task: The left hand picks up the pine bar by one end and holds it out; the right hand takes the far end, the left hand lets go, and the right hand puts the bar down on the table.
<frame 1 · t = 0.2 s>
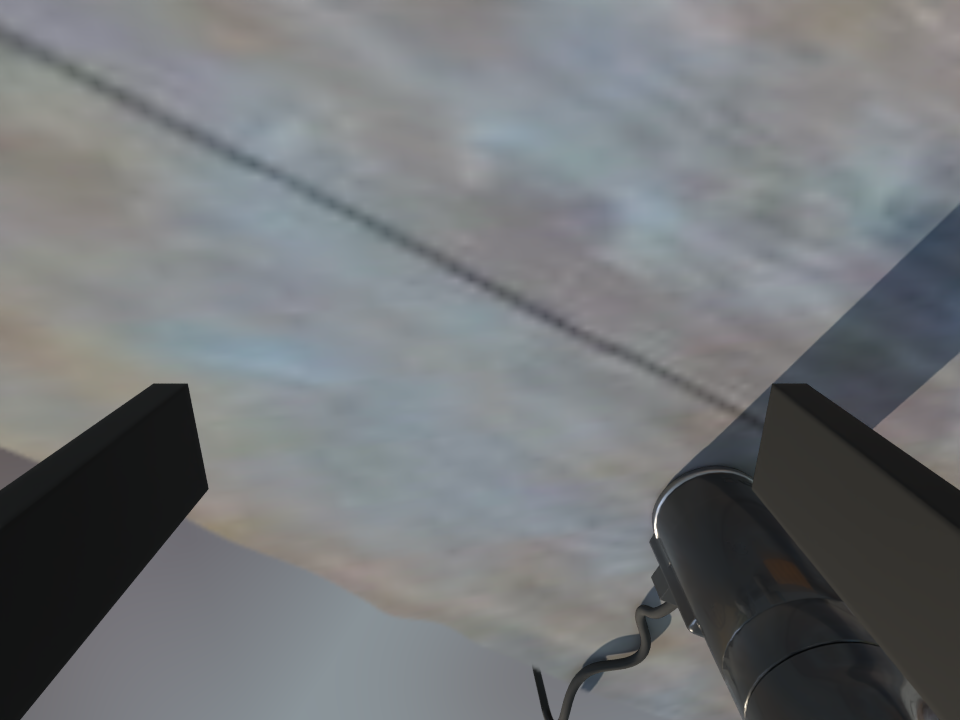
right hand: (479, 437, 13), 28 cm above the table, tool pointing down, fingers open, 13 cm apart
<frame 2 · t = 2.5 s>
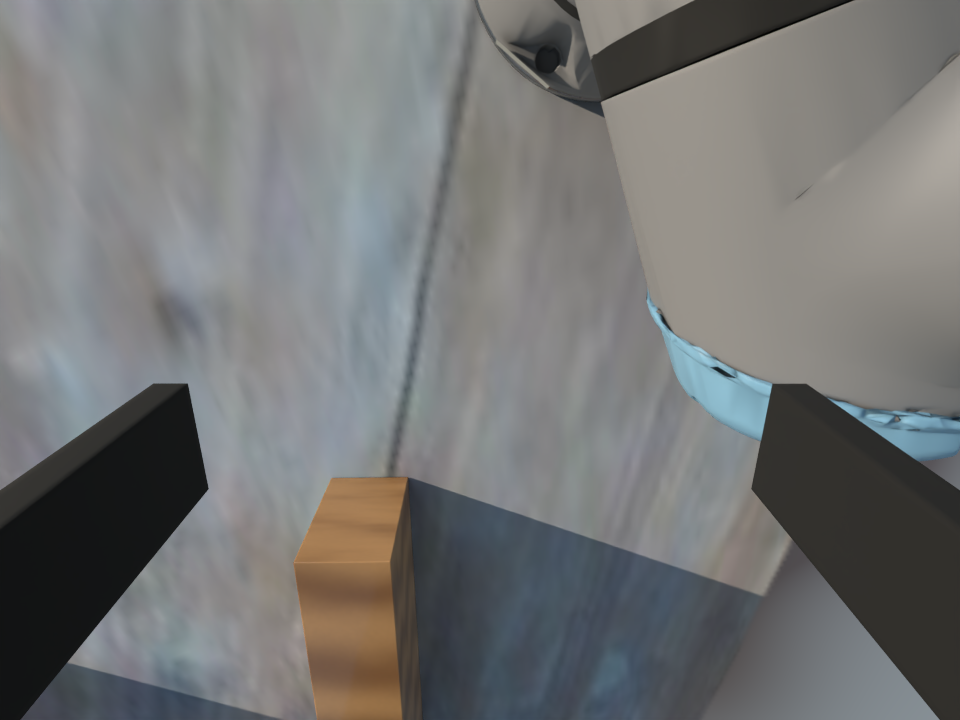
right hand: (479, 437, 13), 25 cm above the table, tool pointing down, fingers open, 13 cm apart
bar: (382, 618, 47), on the table, touching left hand
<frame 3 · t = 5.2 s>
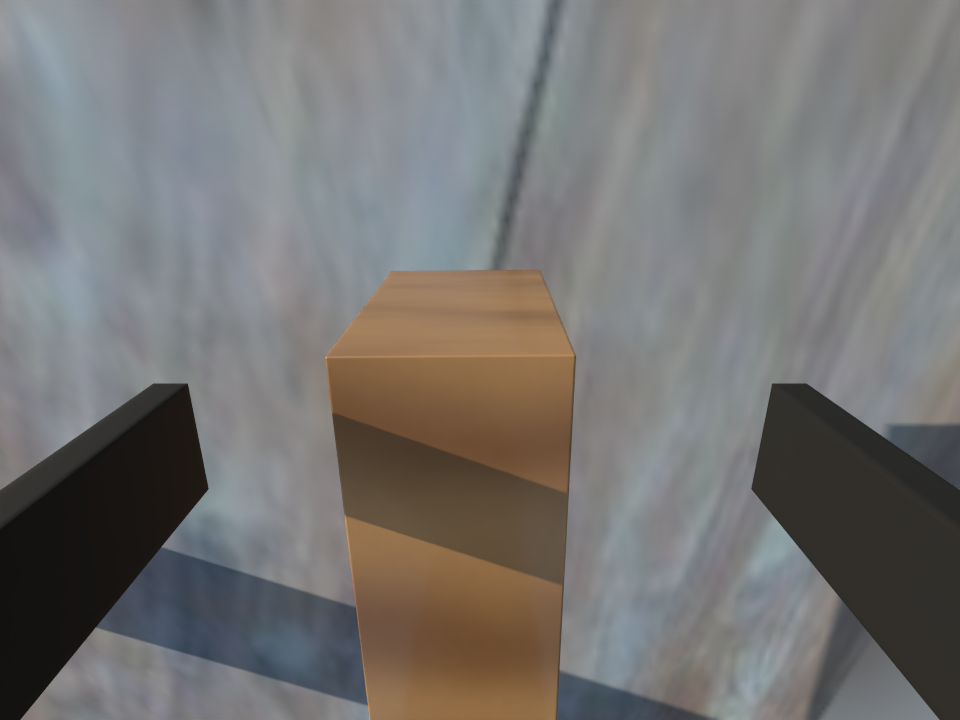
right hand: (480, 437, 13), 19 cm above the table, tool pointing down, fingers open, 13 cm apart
bar: (471, 553, 26), point 9 cm above the table, touching left hand
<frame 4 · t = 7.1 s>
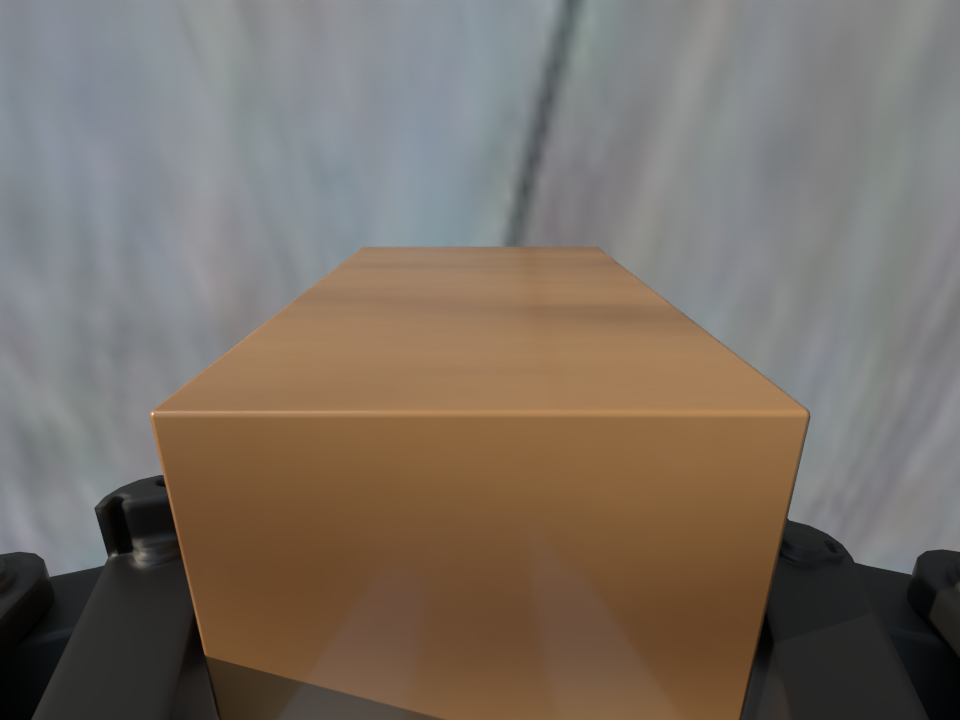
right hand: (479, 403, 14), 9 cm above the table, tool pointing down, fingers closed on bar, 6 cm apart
bar: (480, 662, 18), point 9 cm above the table, touching right hand, left hand
when the left hand's fingers open (14 cm above the table, at t = 7.9 s): bar stays where it is, held by the right hand.
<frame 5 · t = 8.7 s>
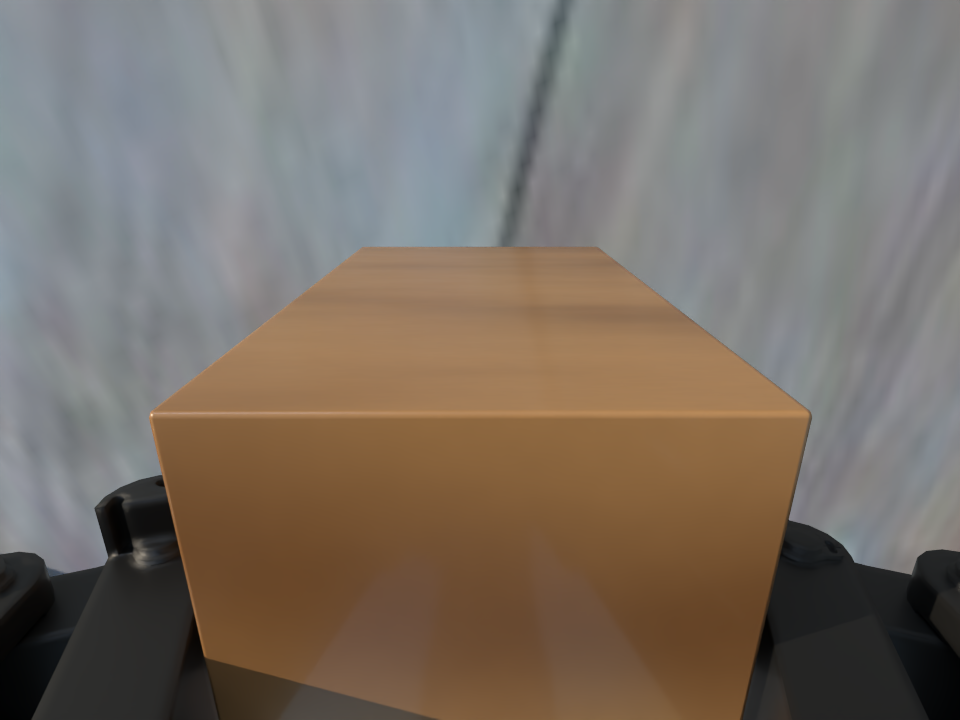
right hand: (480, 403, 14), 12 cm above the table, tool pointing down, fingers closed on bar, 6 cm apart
bar: (480, 663, 18), point 12 cm above the table, touching right hand
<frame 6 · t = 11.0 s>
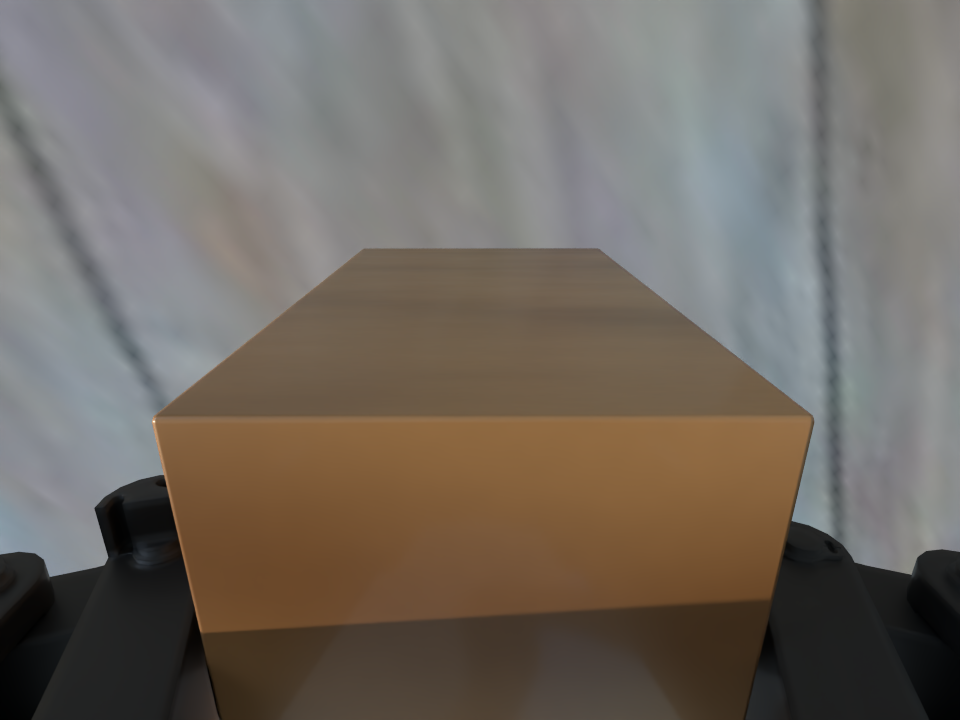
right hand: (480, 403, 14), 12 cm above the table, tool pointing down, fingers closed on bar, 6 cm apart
bar: (481, 664, 18), point 12 cm above the table, touching right hand
when the right hand's fingers open (2 cm above the table, at t = 15.1 s): bar stays where it is, on the table.
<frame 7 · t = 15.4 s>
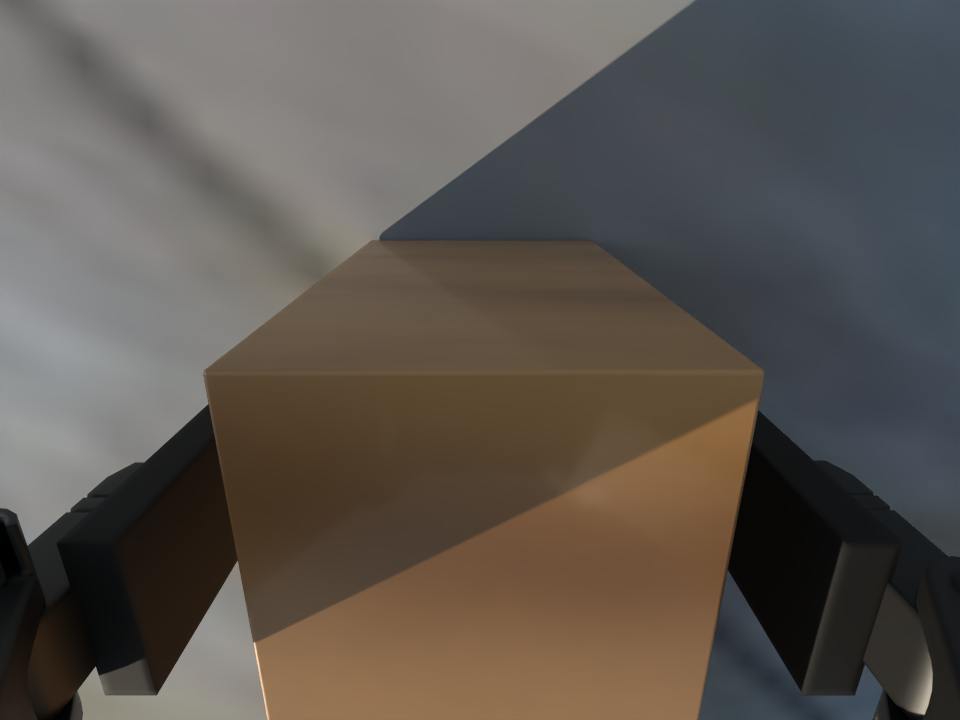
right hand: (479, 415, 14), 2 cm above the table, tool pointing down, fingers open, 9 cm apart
bar: (481, 639, 19), on the table
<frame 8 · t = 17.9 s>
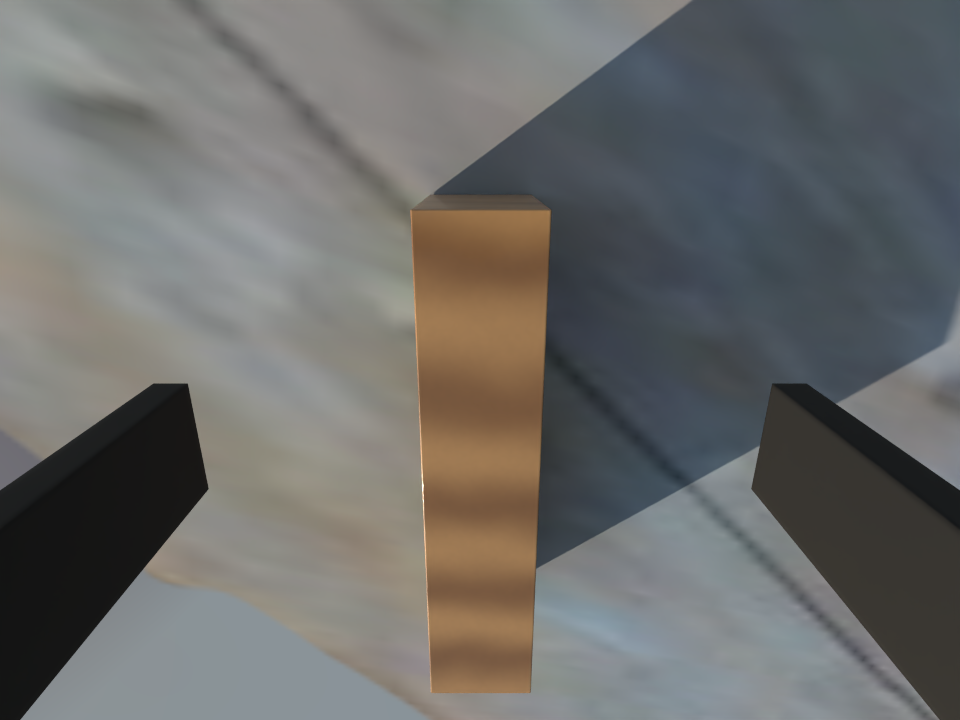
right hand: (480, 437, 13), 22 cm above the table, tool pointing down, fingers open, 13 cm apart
bar: (480, 411, 36), on the table
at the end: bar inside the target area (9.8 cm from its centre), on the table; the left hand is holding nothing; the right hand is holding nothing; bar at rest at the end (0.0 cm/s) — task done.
